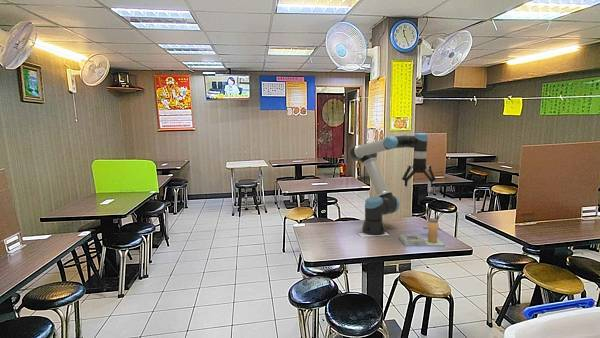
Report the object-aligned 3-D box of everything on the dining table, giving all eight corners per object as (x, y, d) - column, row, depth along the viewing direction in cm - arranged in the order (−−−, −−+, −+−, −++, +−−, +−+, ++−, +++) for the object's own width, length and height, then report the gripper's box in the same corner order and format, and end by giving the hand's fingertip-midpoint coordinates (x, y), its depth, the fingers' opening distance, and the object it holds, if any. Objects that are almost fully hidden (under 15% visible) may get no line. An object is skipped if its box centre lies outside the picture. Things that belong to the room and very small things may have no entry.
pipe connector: (440, 238, 200) (441, 223, 199) (424, 237, 202) (424, 222, 201) (437, 233, 210) (438, 218, 208) (421, 232, 212) (422, 217, 210)
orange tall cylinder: (426, 240, 194) (427, 218, 193) (434, 240, 194) (435, 218, 192) (429, 243, 189) (430, 220, 188) (438, 243, 189) (439, 220, 188)
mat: (421, 239, 198) (421, 238, 198) (437, 239, 197) (437, 238, 197) (427, 246, 187) (427, 245, 187) (444, 246, 186) (444, 244, 186)
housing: (399, 239, 200) (399, 234, 199) (418, 238, 199) (418, 234, 199) (405, 246, 188) (405, 241, 187) (425, 245, 187) (425, 241, 187)
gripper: (401, 158, 191) (399, 192, 194) (442, 158, 190) (440, 192, 193) (397, 157, 198) (396, 190, 201) (437, 157, 197) (435, 190, 201)
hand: (417, 191), depth 197 cm, fingers open, 13 cm apart
